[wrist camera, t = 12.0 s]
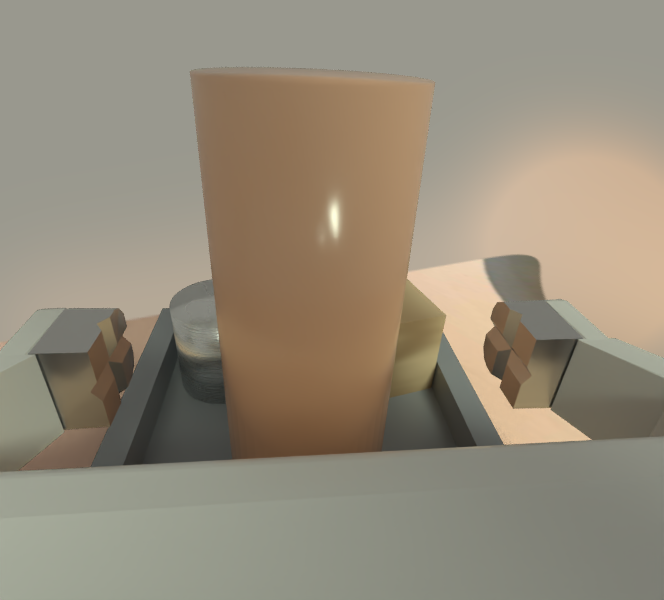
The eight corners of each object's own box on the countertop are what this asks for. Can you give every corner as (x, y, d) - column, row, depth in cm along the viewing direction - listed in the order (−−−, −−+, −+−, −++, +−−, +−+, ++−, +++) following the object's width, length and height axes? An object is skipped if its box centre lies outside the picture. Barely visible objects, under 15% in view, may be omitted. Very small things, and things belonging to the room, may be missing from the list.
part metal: (173, 405, 19) (158, 327, 17) (191, 348, 22) (180, 278, 20) (268, 402, 19) (265, 326, 17) (271, 347, 22) (269, 278, 20)
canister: (227, 554, 13) (161, 79, 7) (242, 429, 18) (210, 64, 11) (388, 544, 14) (472, 91, 7) (364, 425, 18) (403, 72, 12)
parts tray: (33, 711, 11) (-2, 667, 10) (169, 347, 24) (162, 308, 22) (564, 658, 12) (595, 614, 11) (421, 342, 25) (428, 304, 24)
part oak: (351, 407, 19) (358, 331, 17) (321, 353, 22) (323, 283, 20) (431, 388, 20) (446, 315, 18) (391, 339, 23) (400, 273, 21)
